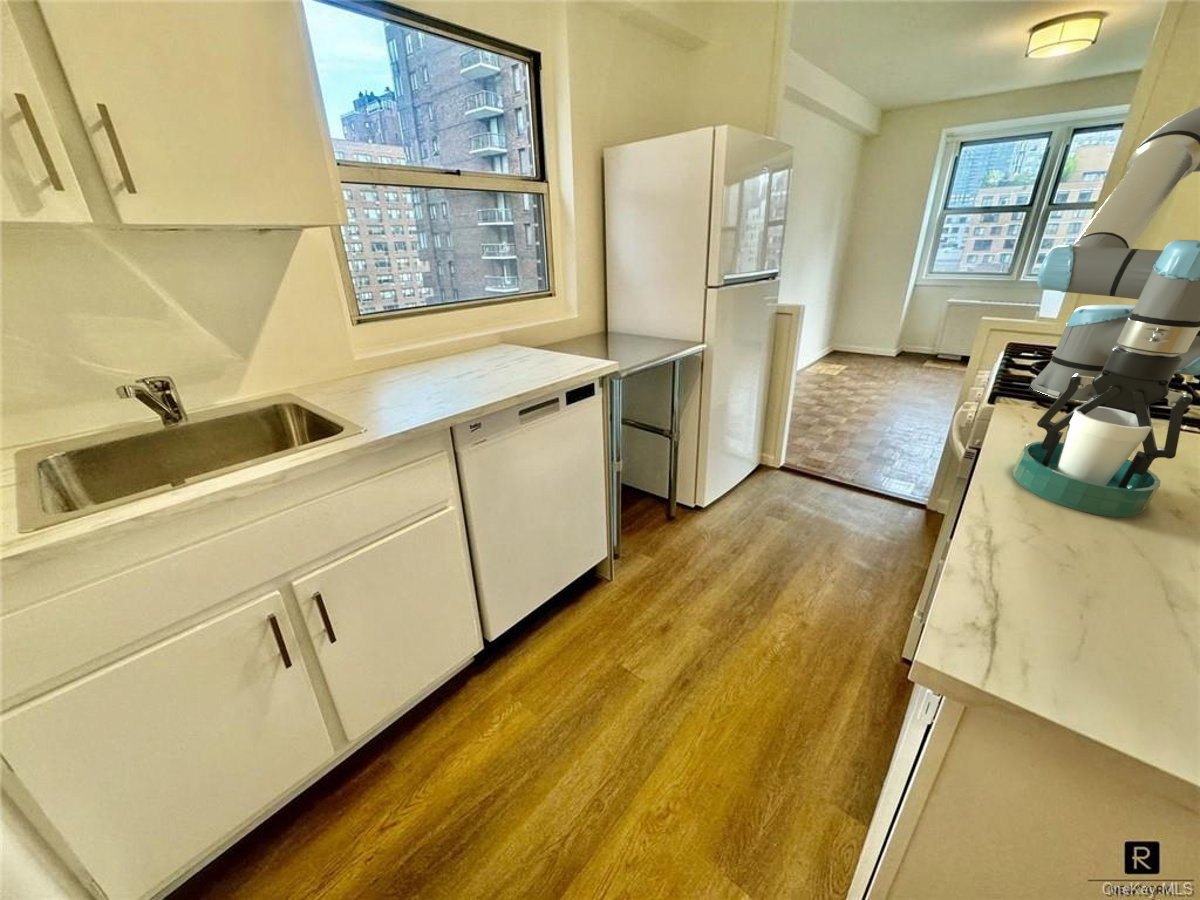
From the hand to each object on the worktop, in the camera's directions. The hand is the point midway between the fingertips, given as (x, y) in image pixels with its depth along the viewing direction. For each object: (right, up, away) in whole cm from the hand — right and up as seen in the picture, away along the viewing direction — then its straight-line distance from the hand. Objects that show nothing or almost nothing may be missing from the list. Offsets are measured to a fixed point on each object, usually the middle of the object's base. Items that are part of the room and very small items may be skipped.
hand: (1080, 477), depth 84 cm
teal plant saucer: (0, -2, +1) cm, 2 cm away
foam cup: (0, -2, +1) cm, 2 cm away
